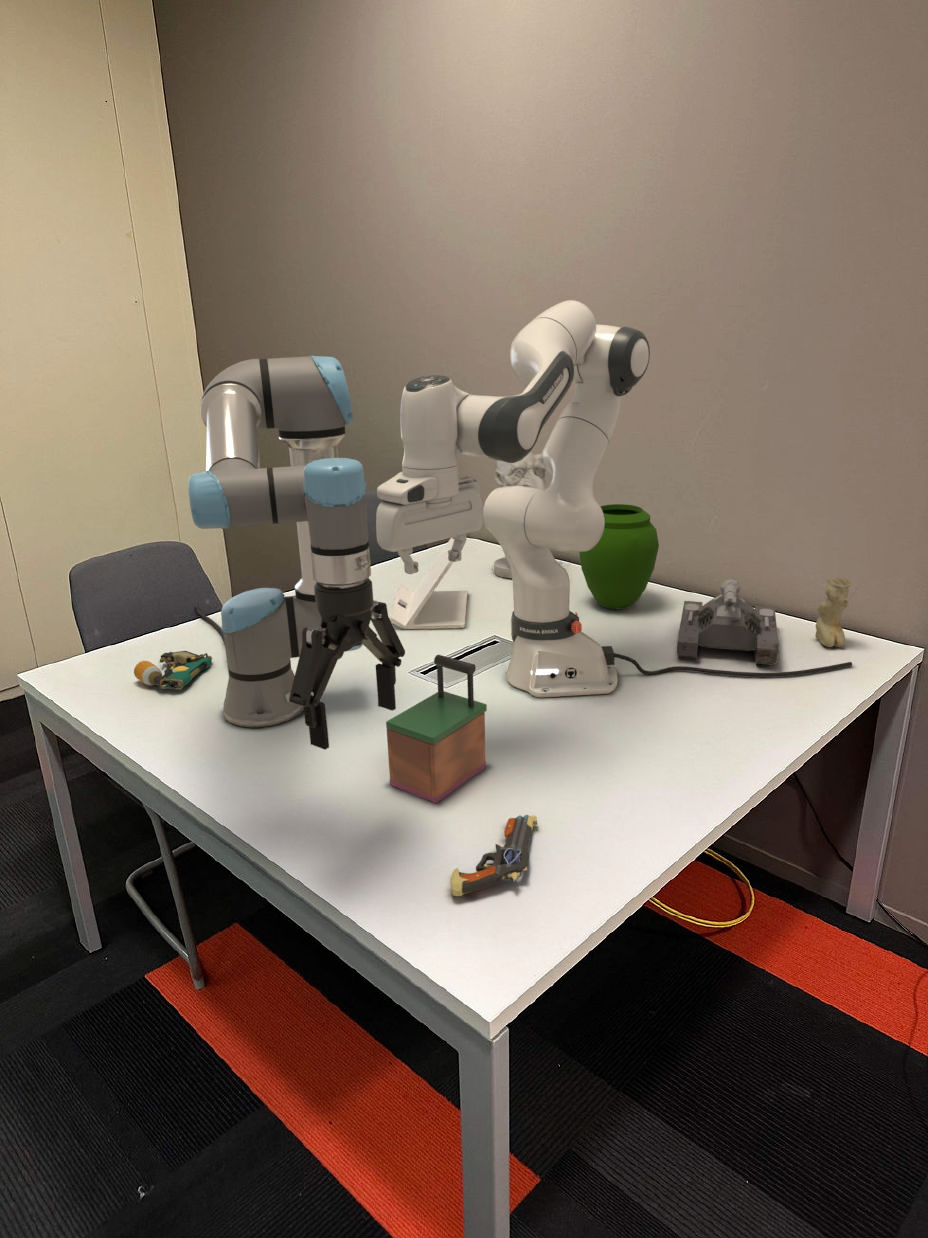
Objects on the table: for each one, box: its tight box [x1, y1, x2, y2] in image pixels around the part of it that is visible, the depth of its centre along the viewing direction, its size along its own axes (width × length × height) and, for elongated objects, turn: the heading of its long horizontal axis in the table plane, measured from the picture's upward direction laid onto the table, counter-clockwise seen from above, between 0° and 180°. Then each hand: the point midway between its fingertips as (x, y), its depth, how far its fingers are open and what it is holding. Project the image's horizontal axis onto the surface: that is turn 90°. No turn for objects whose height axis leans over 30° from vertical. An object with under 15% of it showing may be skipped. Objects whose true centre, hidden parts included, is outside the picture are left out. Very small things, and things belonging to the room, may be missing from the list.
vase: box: [578, 503, 660, 610], centre depth 210 cm, size 20×20×24 cm
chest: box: [386, 712, 487, 804], centre depth 138 cm, size 13×10×10 cm
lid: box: [385, 654, 488, 745], centre depth 135 cm, size 14×10×9 cm
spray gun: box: [133, 650, 213, 690], centre depth 180 cm, size 4×17×15 cm
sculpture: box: [814, 576, 852, 648], centre depth 185 cm, size 6×7×15 cm
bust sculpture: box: [493, 450, 547, 579], centre depth 231 cm, size 16×24×35 cm
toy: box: [676, 578, 780, 666], centre depth 186 cm, size 25×20×15 cm
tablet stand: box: [388, 537, 468, 630], centre depth 211 cm, size 18×25×17 cm
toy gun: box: [449, 814, 538, 897], centre depth 118 cm, size 3×19×10 cm
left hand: (354, 726), depth 118 cm, fingers open, 13 cm apart
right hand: (433, 566), depth 140 cm, fingers open, 8 cm apart
